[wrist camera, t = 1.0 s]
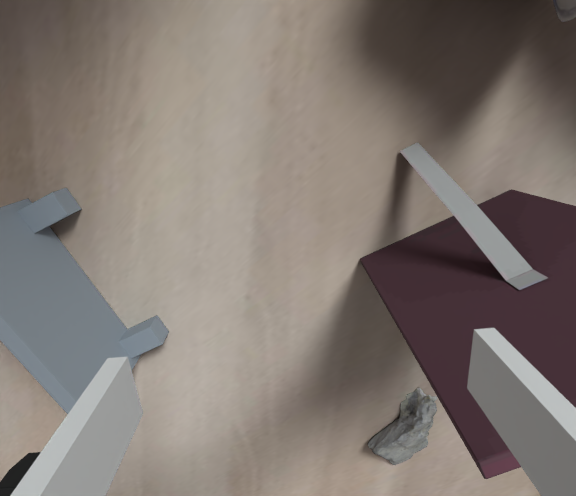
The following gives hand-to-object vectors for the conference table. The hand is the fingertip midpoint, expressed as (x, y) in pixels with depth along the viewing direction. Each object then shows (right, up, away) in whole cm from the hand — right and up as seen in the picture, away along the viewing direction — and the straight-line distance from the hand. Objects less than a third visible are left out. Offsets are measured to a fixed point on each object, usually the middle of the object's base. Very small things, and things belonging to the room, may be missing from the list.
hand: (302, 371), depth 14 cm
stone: (+14, -18, +33) cm, 40 cm away
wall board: (-21, +2, +25) cm, 32 cm away
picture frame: (+13, +10, +23) cm, 28 cm away
